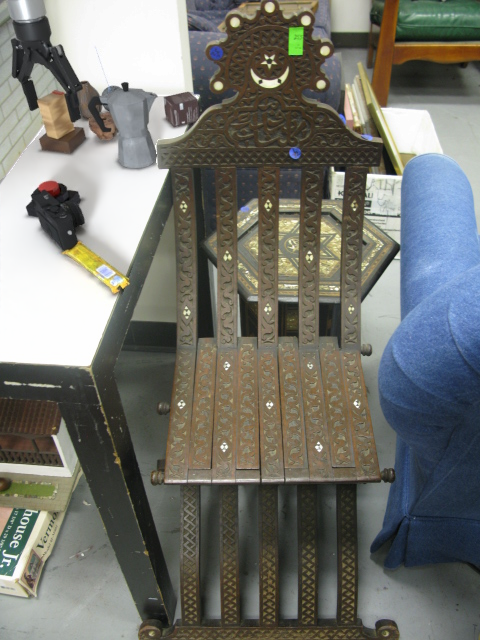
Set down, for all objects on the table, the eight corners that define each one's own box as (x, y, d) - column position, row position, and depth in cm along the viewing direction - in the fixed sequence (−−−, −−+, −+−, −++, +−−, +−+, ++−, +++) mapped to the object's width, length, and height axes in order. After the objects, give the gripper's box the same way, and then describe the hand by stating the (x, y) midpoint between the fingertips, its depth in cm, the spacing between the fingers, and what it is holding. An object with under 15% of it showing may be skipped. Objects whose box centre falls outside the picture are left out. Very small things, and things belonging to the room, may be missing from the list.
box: (200, 121, 146) (174, 128, 144) (190, 112, 150) (165, 119, 147) (198, 99, 142) (171, 105, 139) (188, 90, 145) (162, 96, 143)
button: (36, 196, 115) (34, 189, 113) (47, 187, 117) (44, 179, 116) (54, 199, 114) (51, 191, 113) (63, 189, 116) (61, 181, 115)
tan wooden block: (57, 139, 134) (46, 101, 128) (47, 136, 136) (36, 98, 129) (75, 129, 138) (65, 92, 131) (64, 126, 139) (54, 89, 133)
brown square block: (42, 150, 137) (38, 138, 135) (58, 135, 143) (55, 124, 140) (70, 153, 135) (67, 142, 133) (86, 138, 141) (83, 127, 139)
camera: (101, 243, 108) (92, 208, 102) (67, 258, 105) (56, 223, 99) (68, 212, 116) (58, 178, 111) (36, 226, 113) (24, 191, 107)
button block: (28, 215, 116) (22, 199, 113) (48, 195, 122) (43, 179, 119) (62, 220, 114) (57, 203, 112) (80, 200, 120) (76, 183, 117)
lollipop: (135, 65, 133) (114, 82, 131) (133, 108, 153) (114, 123, 151) (106, 36, 133) (85, 53, 131) (107, 83, 152) (89, 98, 150)
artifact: (104, 128, 144) (100, 109, 141) (128, 133, 141) (124, 114, 138) (85, 141, 139) (81, 121, 136) (109, 146, 137) (105, 127, 133)
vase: (82, 123, 147) (74, 89, 141) (75, 113, 151) (67, 80, 145) (107, 116, 149) (100, 83, 143) (99, 107, 154) (92, 75, 147)
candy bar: (112, 290, 95) (115, 297, 97) (131, 276, 97) (133, 284, 99) (58, 247, 104) (61, 255, 105) (76, 236, 105) (79, 243, 107)
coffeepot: (164, 146, 136) (154, 71, 123) (167, 165, 129) (156, 87, 117) (101, 153, 135) (84, 78, 122) (100, 173, 128) (82, 95, 115)
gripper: (85, 20, 116) (105, 118, 131) (2, 5, 126) (30, 98, 141) (59, 31, 112) (83, 131, 126) (-24, 14, 121) (7, 110, 136)
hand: (55, 114), depth 134 cm, fingers open, 13 cm apart
